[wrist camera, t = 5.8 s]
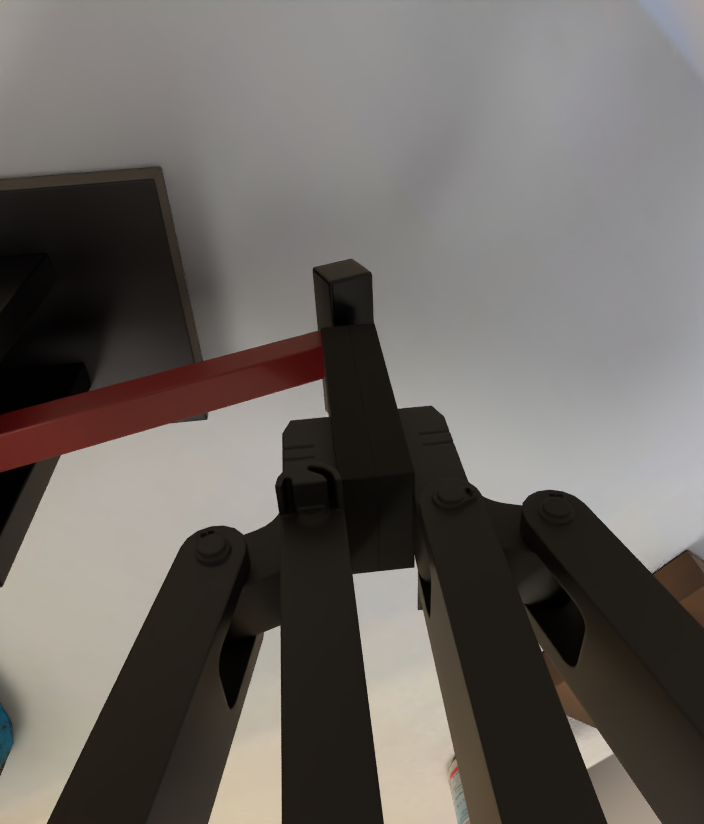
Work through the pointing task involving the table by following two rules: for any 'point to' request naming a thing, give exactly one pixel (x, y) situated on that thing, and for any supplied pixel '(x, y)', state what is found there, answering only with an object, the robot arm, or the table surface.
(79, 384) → the black lever stand
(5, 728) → the desk lamp
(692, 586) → the block
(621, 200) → the table surface
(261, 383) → the red lever
